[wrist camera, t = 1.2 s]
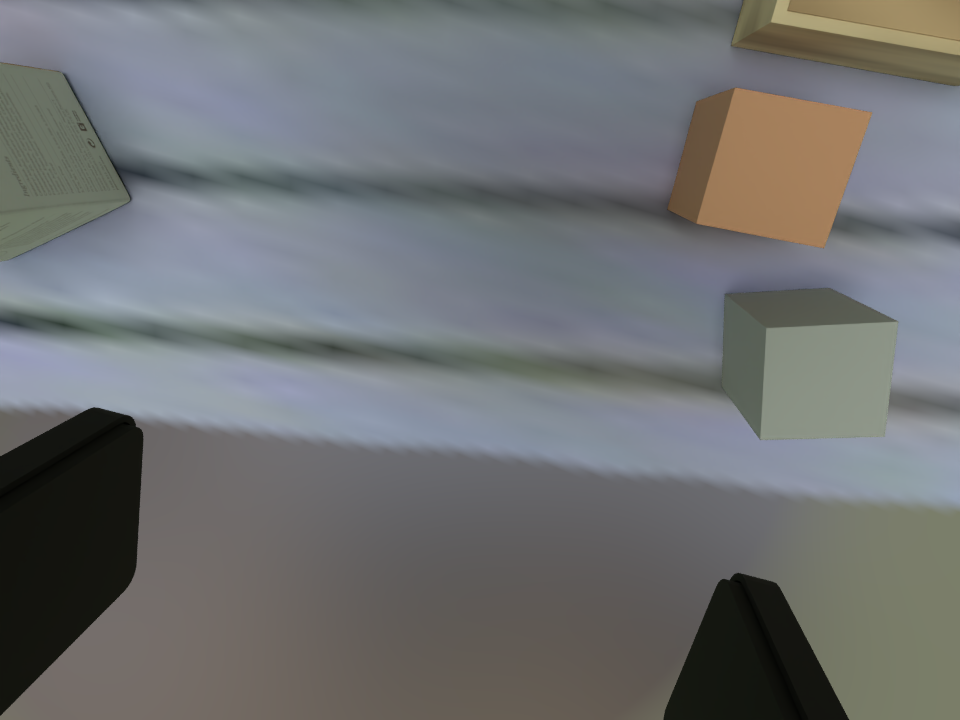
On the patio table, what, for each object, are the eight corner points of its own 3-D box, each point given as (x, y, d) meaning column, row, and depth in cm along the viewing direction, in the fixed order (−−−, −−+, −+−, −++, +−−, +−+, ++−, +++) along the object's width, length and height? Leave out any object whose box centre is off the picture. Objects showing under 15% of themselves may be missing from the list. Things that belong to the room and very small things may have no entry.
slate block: (724, 293, 29) (766, 328, 23) (829, 287, 28) (898, 321, 23) (721, 386, 30) (760, 440, 25) (821, 382, 30) (884, 436, 24)
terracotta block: (696, 101, 27) (735, 87, 21) (803, 121, 26) (872, 112, 21) (667, 209, 28) (696, 223, 22) (768, 228, 28) (824, 248, 22)
